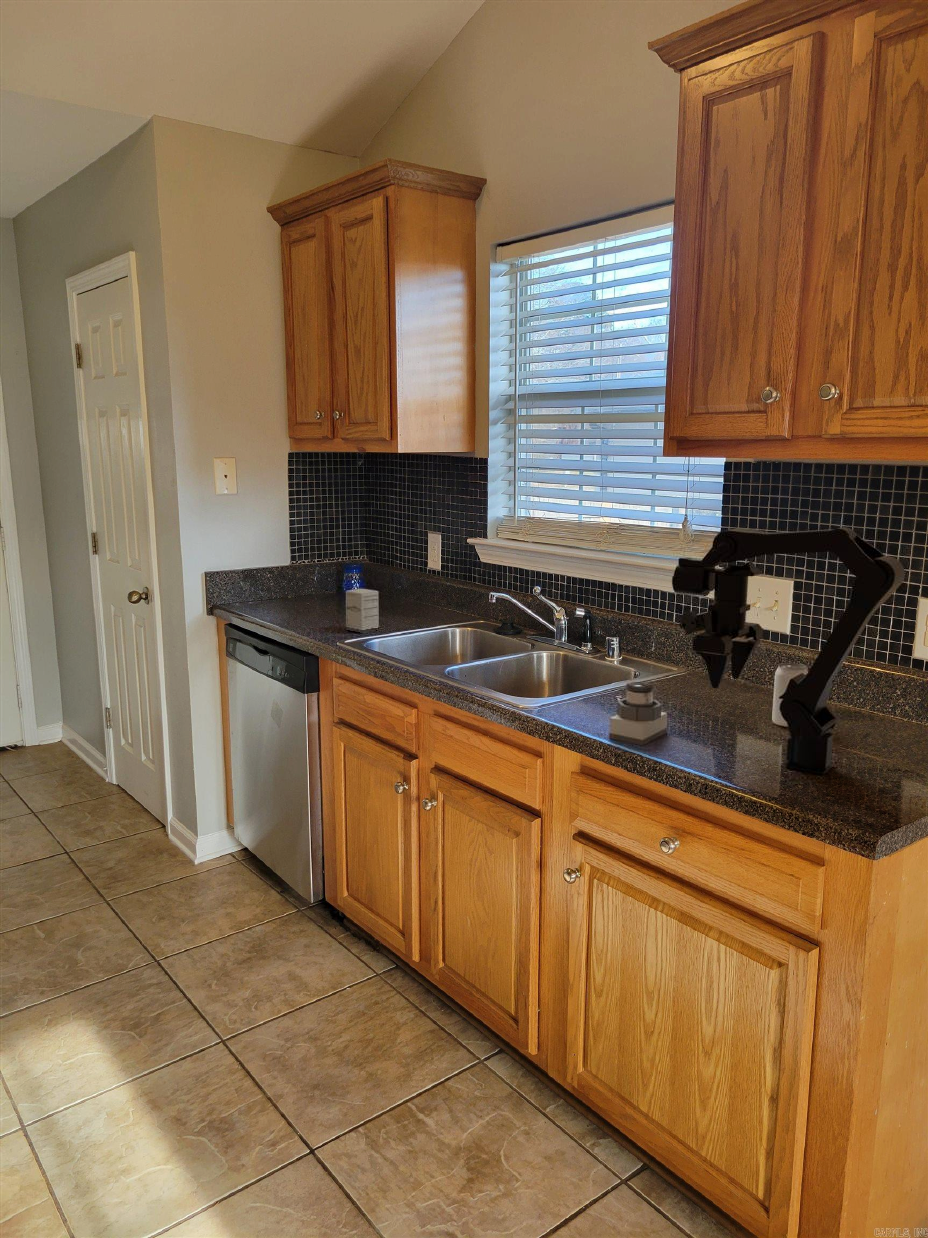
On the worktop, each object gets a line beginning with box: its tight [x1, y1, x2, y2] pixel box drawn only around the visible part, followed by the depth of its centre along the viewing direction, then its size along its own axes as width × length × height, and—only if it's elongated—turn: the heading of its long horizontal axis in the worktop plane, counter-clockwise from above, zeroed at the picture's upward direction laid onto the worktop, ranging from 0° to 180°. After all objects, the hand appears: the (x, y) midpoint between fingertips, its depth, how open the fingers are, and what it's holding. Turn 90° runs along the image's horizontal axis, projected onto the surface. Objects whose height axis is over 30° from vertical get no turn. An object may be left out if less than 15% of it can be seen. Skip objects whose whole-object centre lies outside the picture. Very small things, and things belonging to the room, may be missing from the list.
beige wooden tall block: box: [345, 588, 380, 630], centre depth 279 cm, size 7×7×13 cm
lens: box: [625, 681, 655, 708], centre depth 176 cm, size 5×5×6 cm
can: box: [771, 662, 809, 728], centre depth 184 cm, size 6×6×12 cm
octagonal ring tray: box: [608, 697, 668, 746], centre depth 176 cm, size 8×10×6 cm
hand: (725, 683), depth 167 cm, fingers open, 9 cm apart
